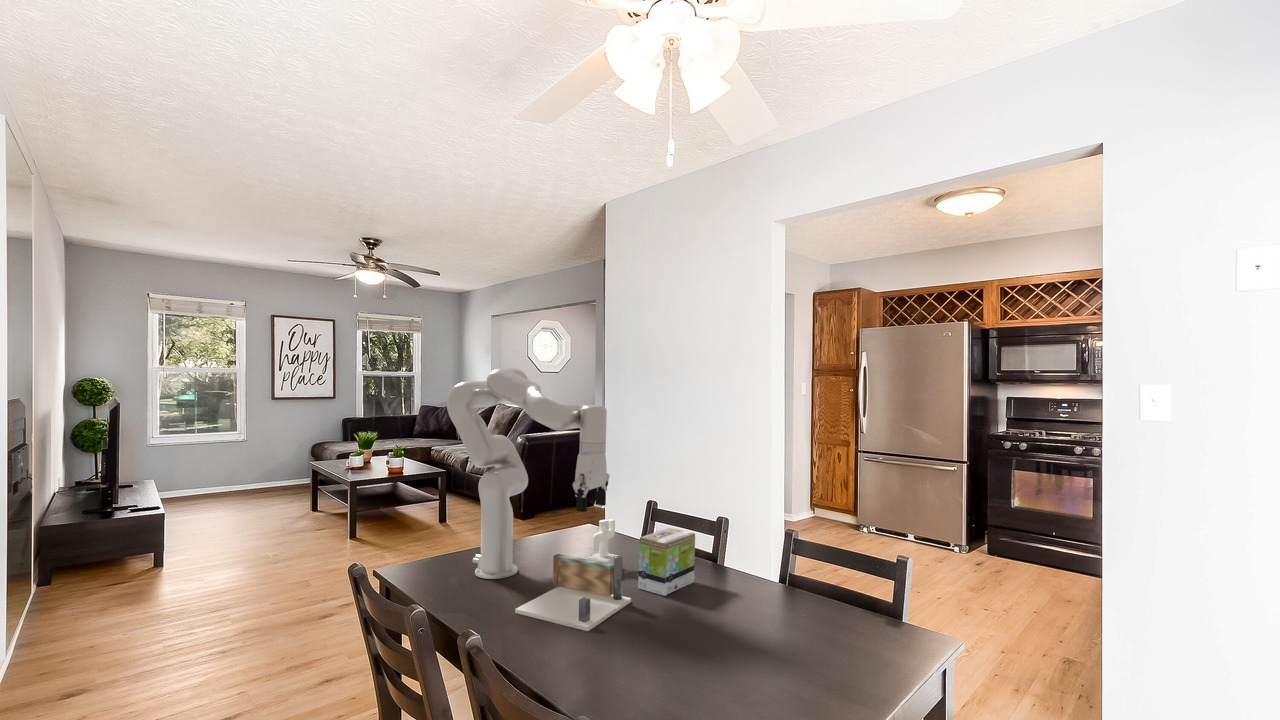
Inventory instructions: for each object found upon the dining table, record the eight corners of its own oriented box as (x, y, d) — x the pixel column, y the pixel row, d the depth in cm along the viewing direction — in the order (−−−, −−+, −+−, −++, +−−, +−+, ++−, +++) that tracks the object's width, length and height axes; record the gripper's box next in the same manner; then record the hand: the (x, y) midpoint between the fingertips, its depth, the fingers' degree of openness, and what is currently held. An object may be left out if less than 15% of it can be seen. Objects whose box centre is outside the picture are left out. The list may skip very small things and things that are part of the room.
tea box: (666, 597, 162) (666, 542, 163) (637, 589, 169) (637, 536, 169) (695, 582, 174) (695, 531, 175) (667, 575, 180) (667, 526, 181)
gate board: (515, 612, 151) (515, 608, 151) (563, 587, 169) (563, 583, 169) (587, 631, 140) (587, 627, 140) (630, 601, 159) (631, 598, 159)
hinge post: (577, 624, 144) (578, 574, 144) (615, 599, 160) (616, 555, 160) (586, 626, 143) (586, 576, 143) (623, 601, 159) (624, 556, 159)
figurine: (584, 569, 185) (585, 521, 185) (603, 562, 192) (604, 515, 193) (603, 574, 180) (603, 524, 181) (621, 566, 188) (622, 518, 188)
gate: (613, 594, 160) (613, 564, 161) (609, 596, 159) (609, 566, 159) (557, 582, 169) (557, 553, 169) (553, 584, 167) (553, 555, 167)
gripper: (598, 444, 180) (596, 501, 179) (564, 450, 164) (562, 512, 164) (619, 446, 176) (618, 504, 176) (586, 452, 161) (585, 516, 160)
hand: (591, 508), depth 170 cm, fingers open, 9 cm apart
